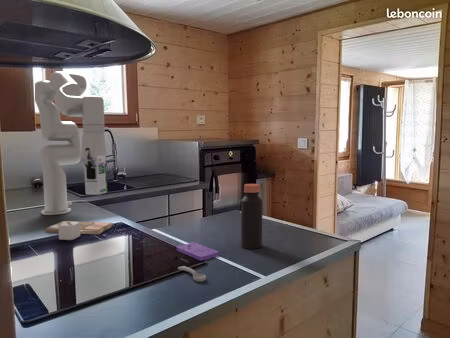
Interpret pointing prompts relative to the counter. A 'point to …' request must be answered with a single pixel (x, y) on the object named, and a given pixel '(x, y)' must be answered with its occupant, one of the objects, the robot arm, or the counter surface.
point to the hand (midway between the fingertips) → (95, 177)
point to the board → (84, 227)
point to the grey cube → (69, 230)
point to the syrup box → (97, 177)
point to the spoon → (194, 274)
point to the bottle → (251, 217)
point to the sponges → (197, 251)
